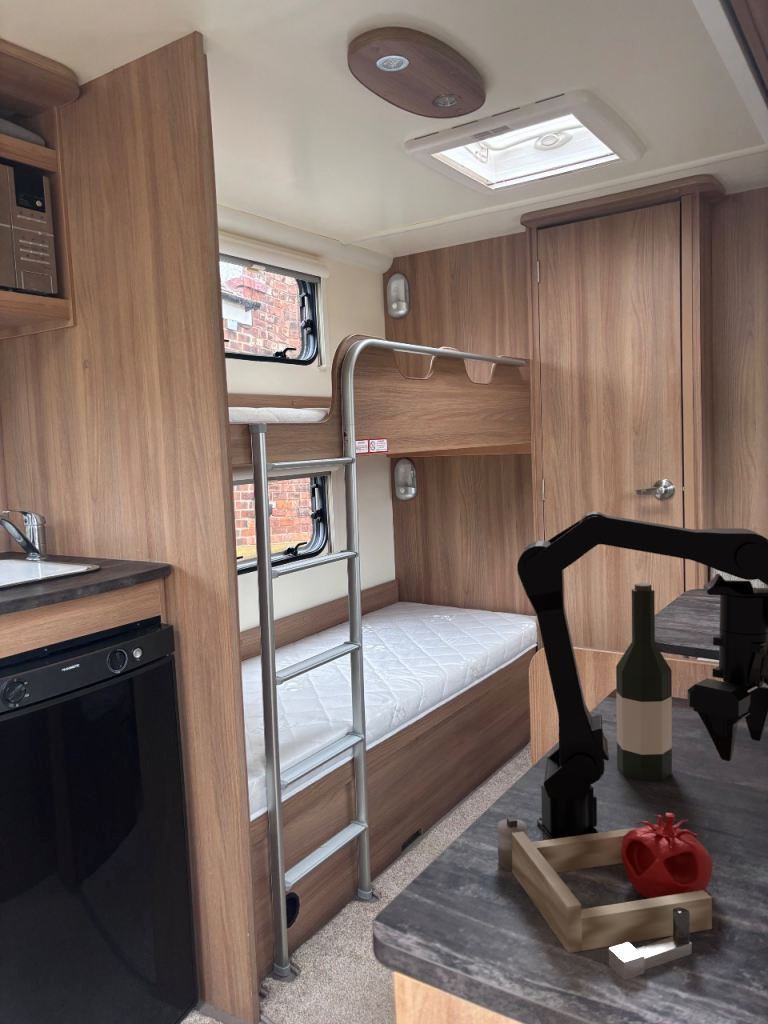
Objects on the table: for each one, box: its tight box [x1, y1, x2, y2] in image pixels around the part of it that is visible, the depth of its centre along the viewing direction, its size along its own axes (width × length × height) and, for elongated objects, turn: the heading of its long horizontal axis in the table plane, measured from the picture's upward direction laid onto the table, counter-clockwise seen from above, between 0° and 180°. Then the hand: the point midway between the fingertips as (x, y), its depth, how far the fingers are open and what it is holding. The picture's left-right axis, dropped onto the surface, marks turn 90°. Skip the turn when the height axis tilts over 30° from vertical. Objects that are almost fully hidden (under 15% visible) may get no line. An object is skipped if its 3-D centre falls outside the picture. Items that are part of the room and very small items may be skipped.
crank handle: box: [608, 907, 693, 981], centre depth 79 cm, size 9×2×4 cm, turn 111°
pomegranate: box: [621, 812, 714, 899], centre depth 91 cm, size 10×10×9 cm
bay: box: [497, 816, 713, 954], centre depth 91 cm, size 18×20×6 cm
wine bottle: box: [615, 582, 673, 782], centre depth 123 cm, size 8×8×30 cm
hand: (741, 749), depth 99 cm, fingers open, 9 cm apart
